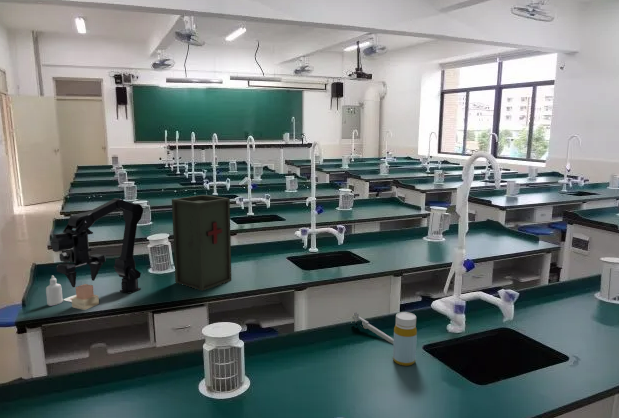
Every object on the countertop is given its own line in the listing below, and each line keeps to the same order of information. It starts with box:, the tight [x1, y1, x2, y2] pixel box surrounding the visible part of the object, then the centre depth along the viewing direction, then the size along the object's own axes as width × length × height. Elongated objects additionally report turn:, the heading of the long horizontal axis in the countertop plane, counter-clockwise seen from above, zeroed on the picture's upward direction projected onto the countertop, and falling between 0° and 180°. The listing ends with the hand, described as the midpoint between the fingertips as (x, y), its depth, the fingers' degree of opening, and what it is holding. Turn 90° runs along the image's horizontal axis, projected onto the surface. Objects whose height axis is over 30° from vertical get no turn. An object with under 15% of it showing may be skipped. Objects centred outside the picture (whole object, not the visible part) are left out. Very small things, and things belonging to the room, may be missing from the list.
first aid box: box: [171, 194, 232, 292], centre depth 214 cm, size 18×18×40 cm
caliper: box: [351, 311, 394, 345], centre depth 162 cm, size 20×1×6 cm, turn 44°
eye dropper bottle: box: [45, 275, 64, 307], centre depth 188 cm, size 4×6×12 cm
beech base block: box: [71, 294, 100, 311], centre depth 187 cm, size 7×7×4 cm
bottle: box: [392, 311, 418, 367], centre depth 143 cm, size 7×7×15 cm
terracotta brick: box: [75, 283, 95, 299], centre depth 187 cm, size 4×4×4 cm
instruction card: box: [63, 294, 76, 303], centre depth 196 cm, size 8×6×1 cm
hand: (83, 283), depth 186 cm, fingers open, 9 cm apart
